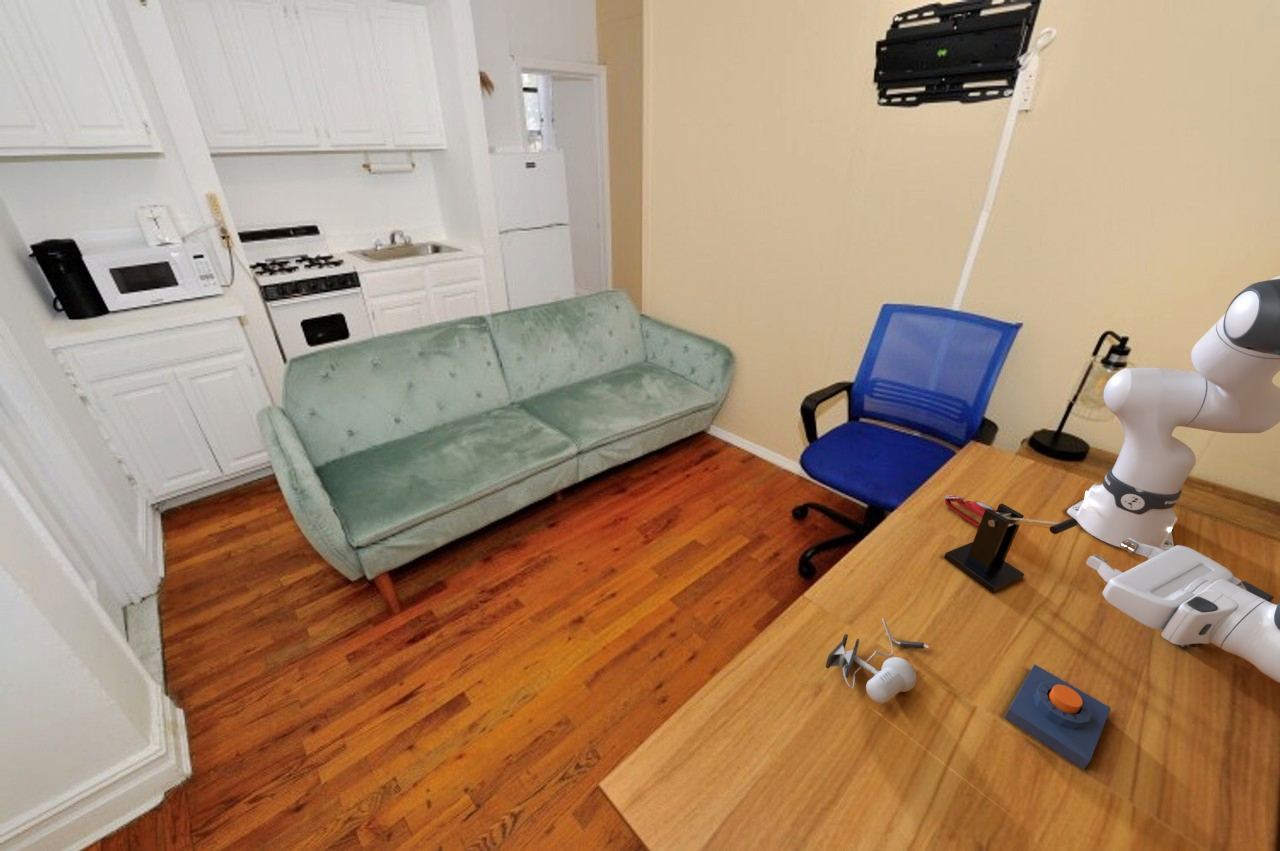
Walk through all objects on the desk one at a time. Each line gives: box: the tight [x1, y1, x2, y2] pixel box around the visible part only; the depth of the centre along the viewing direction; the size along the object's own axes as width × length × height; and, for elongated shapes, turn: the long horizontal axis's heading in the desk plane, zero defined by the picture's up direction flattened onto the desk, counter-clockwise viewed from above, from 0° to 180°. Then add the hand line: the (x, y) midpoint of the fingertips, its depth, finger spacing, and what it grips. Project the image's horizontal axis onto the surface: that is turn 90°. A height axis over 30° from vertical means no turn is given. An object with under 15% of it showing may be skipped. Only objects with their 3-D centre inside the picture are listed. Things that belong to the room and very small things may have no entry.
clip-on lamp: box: [825, 617, 930, 705], centre depth 85 cm, size 12×6×18 cm
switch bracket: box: [943, 503, 1026, 594], centre depth 103 cm, size 11×9×15 cm
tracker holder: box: [942, 494, 997, 527], centre depth 121 cm, size 12×4×10 cm
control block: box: [1004, 663, 1112, 770], centre depth 77 cm, size 12×10×4 cm
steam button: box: [1049, 685, 1083, 714], centre depth 76 cm, size 4×4×2 cm
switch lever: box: [996, 512, 1079, 535], centre depth 95 cm, size 13×6×2 cm, turn 22°
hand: (1107, 550), depth 84 cm, fingers open, 8 cm apart
